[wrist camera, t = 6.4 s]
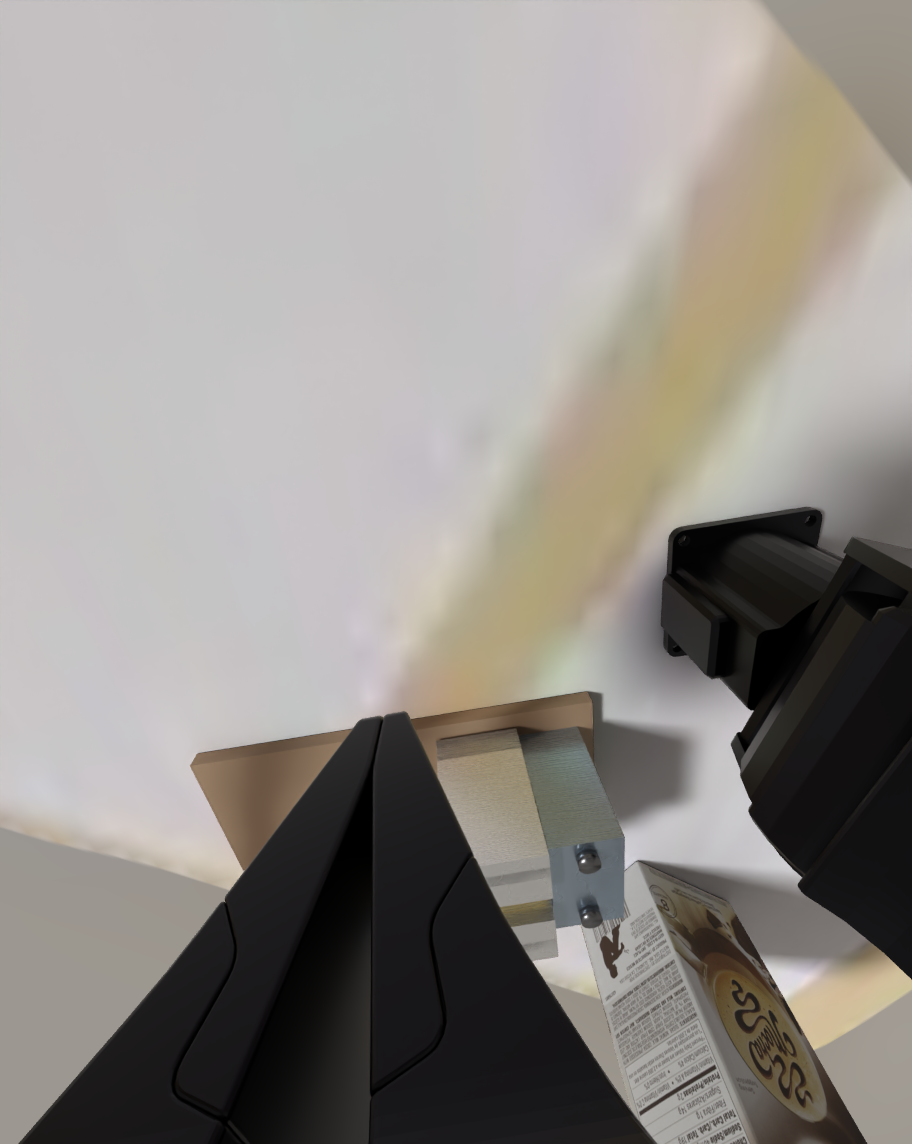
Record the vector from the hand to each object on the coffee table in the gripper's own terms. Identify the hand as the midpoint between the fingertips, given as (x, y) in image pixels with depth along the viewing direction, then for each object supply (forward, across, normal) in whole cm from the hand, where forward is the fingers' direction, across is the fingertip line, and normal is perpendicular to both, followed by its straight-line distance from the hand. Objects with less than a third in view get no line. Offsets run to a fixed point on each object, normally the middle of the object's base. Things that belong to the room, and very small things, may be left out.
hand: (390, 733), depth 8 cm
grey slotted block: (+12, -1, +14) cm, 19 cm away
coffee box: (+13, -10, +30) cm, 34 cm away
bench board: (+12, +3, +14) cm, 19 cm away
